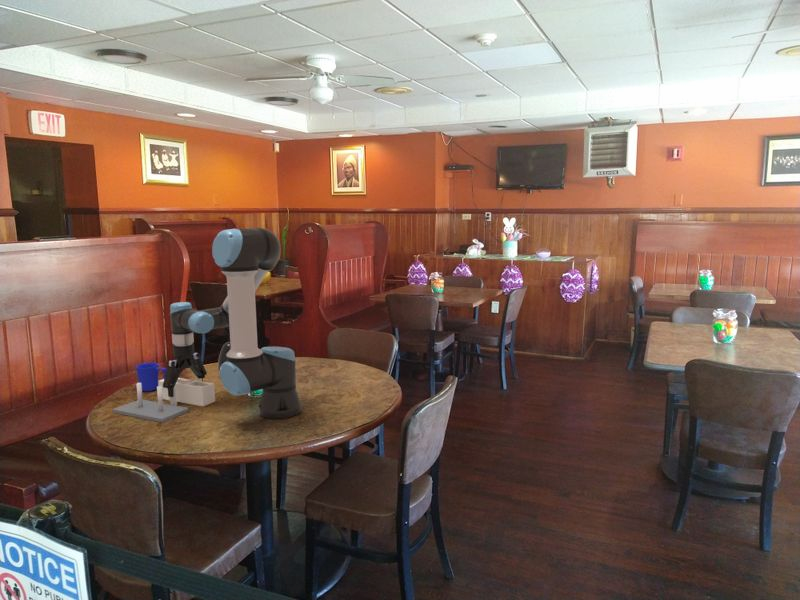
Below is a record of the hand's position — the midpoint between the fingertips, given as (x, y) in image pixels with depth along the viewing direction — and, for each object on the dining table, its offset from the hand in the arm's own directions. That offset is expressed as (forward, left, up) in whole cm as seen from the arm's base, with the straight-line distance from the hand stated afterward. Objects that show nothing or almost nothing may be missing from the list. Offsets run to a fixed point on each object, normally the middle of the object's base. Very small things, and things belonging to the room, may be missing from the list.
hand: (186, 399), depth 216 cm
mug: (+22, -4, 0) cm, 22 cm away
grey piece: (+2, +15, 0) cm, 15 cm away
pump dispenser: (+6, -31, 0) cm, 32 cm away
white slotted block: (0, 0, 0) cm, 0 cm away
